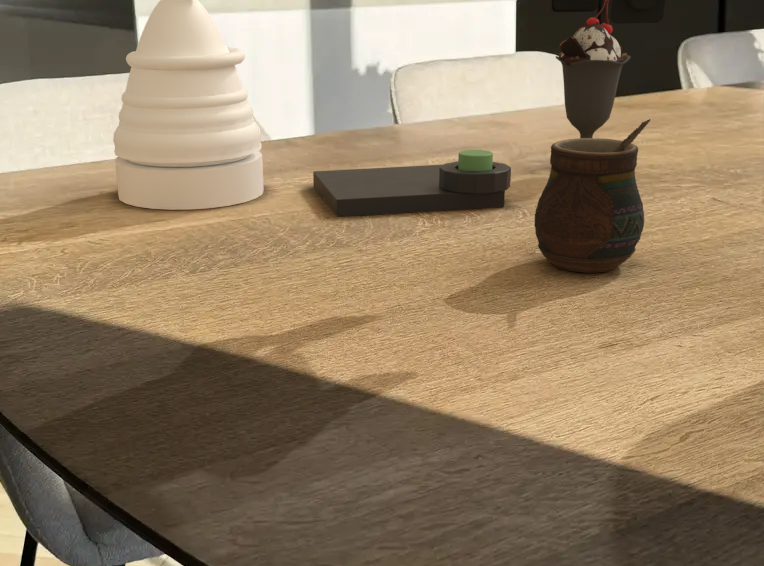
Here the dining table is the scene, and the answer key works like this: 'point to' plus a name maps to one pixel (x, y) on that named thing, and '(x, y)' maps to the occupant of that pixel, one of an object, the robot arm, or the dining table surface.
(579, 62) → the sundae
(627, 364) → the dining table surface
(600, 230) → the mate gourd
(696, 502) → the dining table surface
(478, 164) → the button
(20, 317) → the dining table surface
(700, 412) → the dining table surface
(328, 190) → the black green button base
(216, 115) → the honey pot
